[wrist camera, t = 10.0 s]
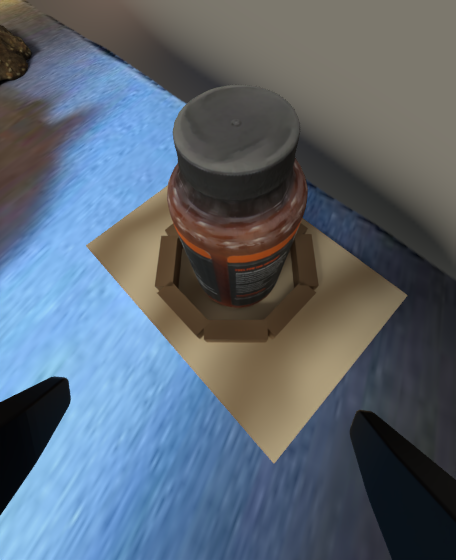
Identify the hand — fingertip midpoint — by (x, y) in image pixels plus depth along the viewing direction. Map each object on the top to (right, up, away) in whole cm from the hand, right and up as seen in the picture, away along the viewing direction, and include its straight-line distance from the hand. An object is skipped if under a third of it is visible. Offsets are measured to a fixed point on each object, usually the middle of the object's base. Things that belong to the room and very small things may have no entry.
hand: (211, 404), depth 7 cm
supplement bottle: (+1, +4, +11) cm, 11 cm away
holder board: (+1, +4, +11) cm, 12 cm away
